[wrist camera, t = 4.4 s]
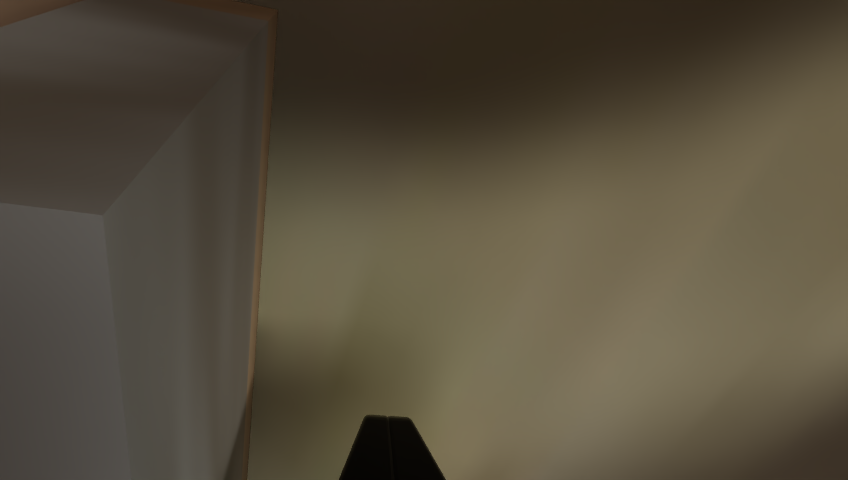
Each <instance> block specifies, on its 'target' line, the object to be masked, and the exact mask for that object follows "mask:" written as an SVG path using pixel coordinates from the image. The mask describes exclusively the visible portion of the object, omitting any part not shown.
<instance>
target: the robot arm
mask: <svg viewBox="0 0 848 480" xmlns="http://www.w3.org/2000/svg"><path fill="white" fill-rule="evenodd" d="M339 480H446V479H445V477H444V476H443V474H442V472H441V470H440V469H439V467H438V465H437V463H436V462H435V460H434V458H433V456H432V455H431V453H430V451H429V449H428V448H427V446H426V444H425V442H424V441H423V439H422V437H421V435H420V434H419V432H418V430H417V428H416V427H415V425H414V423H413V422H412V420H411V419H410V418H408V417H397V416H388V417H387V416H380V415H366V416H365V417H364V419H363V421H362V424H361V426H360V429H359V431H358V433H357V436H356V438H355V441H354V443H353V446H352V448H351V451H350V453H349V456H348V458H347V461H346V463H345V466H344V468H343V470H342V473H341V475H340V478H339Z"/></svg>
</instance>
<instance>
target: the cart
mask: <svg viewBox="0 0 848 480" xmlns="http://www.w3.org/2000/svg"><path fill="white" fill-rule="evenodd" d="M277 19H278V10H277V9H272V8H267V7H262V6H257V5H252V4H247V3H243V2H238V1H233V0H0V480H247V473H248V458H249V443H250V428H251V413H252V398H253V382H254V367H255V352H256V337H257V322H258V307H259V292H260V276H261V261H262V246H263V231H264V216H265V201H266V186H267V170H268V155H269V140H270V125H271V110H272V95H273V80H274V65H275V49H276V34H277Z"/></svg>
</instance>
